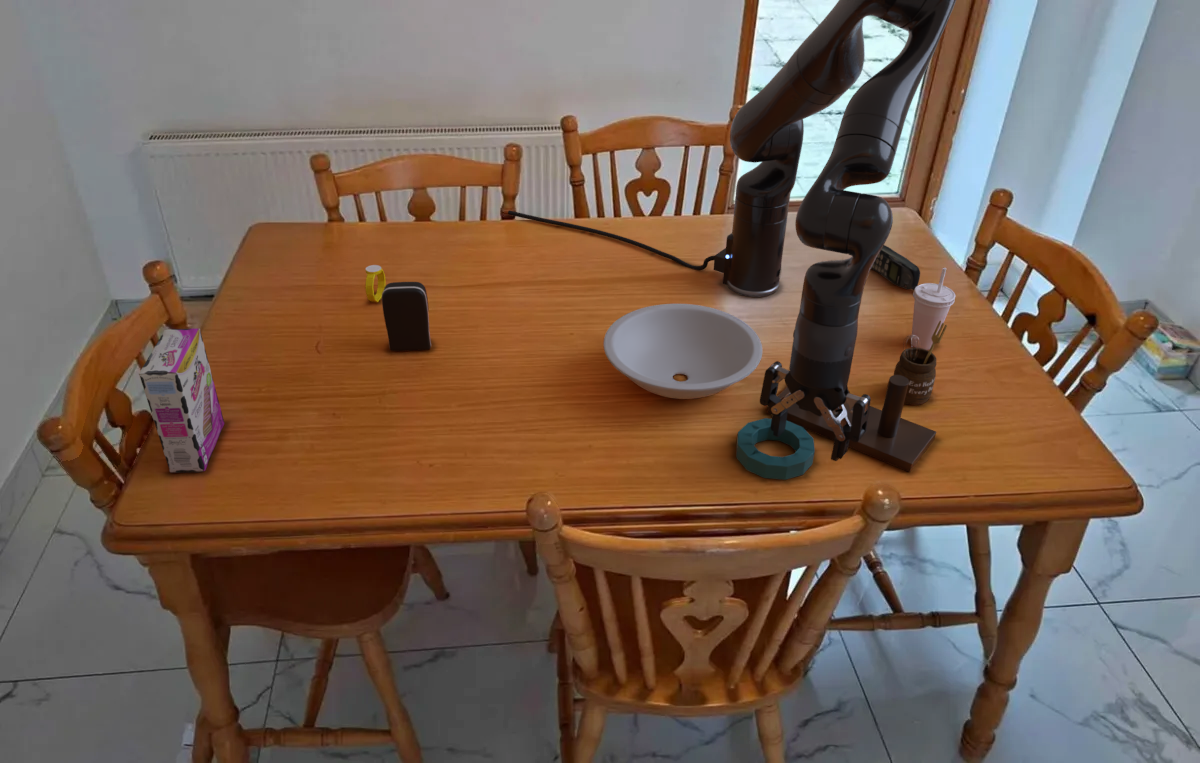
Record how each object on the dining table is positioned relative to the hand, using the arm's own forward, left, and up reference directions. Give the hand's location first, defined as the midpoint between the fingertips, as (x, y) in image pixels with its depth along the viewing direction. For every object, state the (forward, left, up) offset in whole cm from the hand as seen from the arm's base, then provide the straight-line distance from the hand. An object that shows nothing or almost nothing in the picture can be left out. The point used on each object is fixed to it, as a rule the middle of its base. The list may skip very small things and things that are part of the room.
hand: (807, 445), depth 125 cm
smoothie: (+1, +41, -4) cm, 41 cm away
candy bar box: (-69, -48, -4) cm, 84 cm away
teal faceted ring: (-5, 0, -4) cm, 6 cm away
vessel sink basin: (-25, +8, -4) cm, 26 cm away
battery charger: (-65, -11, -4) cm, 66 cm away
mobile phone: (-12, +59, -4) cm, 60 cm away
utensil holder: (+5, +26, -4) cm, 26 cm away
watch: (-81, -4, -4) cm, 81 cm away
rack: (+1, +13, -4) cm, 13 cm away
